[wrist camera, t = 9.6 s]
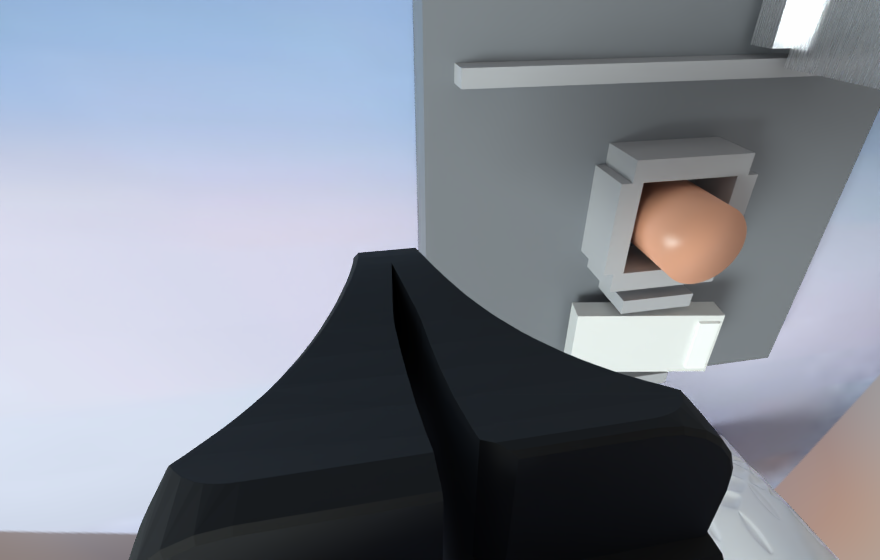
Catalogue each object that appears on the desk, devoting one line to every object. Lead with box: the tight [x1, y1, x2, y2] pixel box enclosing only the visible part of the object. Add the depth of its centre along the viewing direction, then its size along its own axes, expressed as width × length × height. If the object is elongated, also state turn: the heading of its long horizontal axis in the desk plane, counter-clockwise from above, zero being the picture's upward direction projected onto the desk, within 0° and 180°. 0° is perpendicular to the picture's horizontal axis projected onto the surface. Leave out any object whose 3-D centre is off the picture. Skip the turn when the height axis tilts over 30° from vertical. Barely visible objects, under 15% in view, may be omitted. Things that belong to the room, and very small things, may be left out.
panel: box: [413, 0, 880, 384], centre depth 20 cm, size 19×18×4 cm
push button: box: [631, 180, 747, 284], centre depth 18 cm, size 3×3×3 cm
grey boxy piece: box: [750, 0, 880, 89], centre depth 15 cm, size 4×2×5 cm, turn 0°
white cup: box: [707, 435, 839, 560], centre depth 29 cm, size 8×8×10 cm
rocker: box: [564, 302, 725, 372], centre depth 22 cm, size 3×6×1 cm, turn 90°
